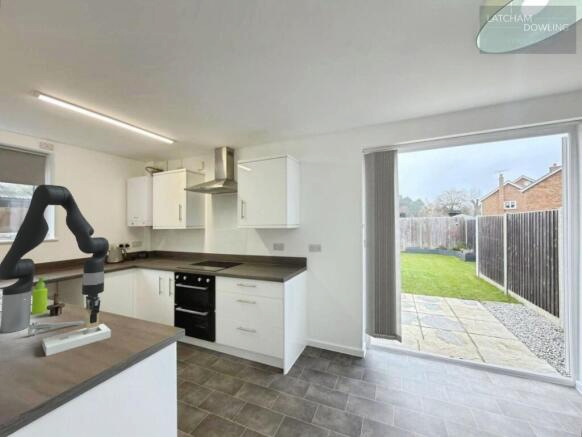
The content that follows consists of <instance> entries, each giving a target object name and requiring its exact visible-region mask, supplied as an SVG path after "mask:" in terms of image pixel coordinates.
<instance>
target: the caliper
mask: <svg viewBox="0 0 582 437" xmlns="http://www.w3.org/2000/svg"><path fill="white" fill-rule="evenodd" d="M80 324H81V325H85V320H80V321H69V322H58V323H57V322H56V323H55V322H54V323H52V322H47V323H46V322H45V323H44V322H43V323H38V321H36V322H34V321H33V322H32V323H31V324H30V326H29V327H28V328H27V337H29V338H30V337H31V334H32V332H33V330H34V333H33V337H36V336H37V335H38V333H39V331H40V330H44V331H46V330H48V331H49V330H50V329H51V328H58V327H59V328H60V327H69V326H80Z"/></svg>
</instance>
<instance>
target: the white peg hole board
mask: <svg viewBox="0 0 582 437" xmlns="http://www.w3.org/2000/svg"><path fill="white" fill-rule="evenodd" d="M111 337H112V329H110V328H109V327H108V326H107V325H105V323H99V326H98V327H94V328H90V329H87V328H86V327H84V328H81V329H76V330H72V331H68V332H64V333H59V334H56V335H53V336H48V337H44V338H42V344H41V346H42V349H43V352H44V354H45V356H46V357H48V356H50V355H51V356H52V355H54V354H57V353H62V352H65V351H69V350H72V349H76V348H78V347H81V346H85V345H89V344H92V343H96V342H100V341H103V340H106V339H109V338H111Z"/></svg>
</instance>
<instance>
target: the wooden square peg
mask: <svg viewBox="0 0 582 437" xmlns="http://www.w3.org/2000/svg"><path fill="white" fill-rule="evenodd" d="M94 311H96V309H94ZM84 313H85V314H84V315H85V318H84V322H85V323H84V328H87V329H90V328H94V327H98V326H99V324H100V312H99V313H97V322H96V323H90V310H89V309H88V308H86V307H85V312H84Z"/></svg>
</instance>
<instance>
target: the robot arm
mask: <svg viewBox="0 0 582 437" xmlns="http://www.w3.org/2000/svg"><path fill="white" fill-rule="evenodd" d="M48 206H61V207H62V208H63V209H64V210H65V213H66V216H65V224H66V226H67V228H68V230H69V231H70V232H71V234H72V235H73V236H74V237H75V241H76V243H77V246H78V249H79V250H80V251H81V252H82V253H84V254H88V255H90V254H92V255H91V257H89V258H87V259H86V260H84V262H83V274H82V278H81V279H82V280H81V281H82V284H81V294H82V295H84V296H85V309H86V308H88V309H89V310H90V323H96V322H97V313H99V314H100V308H101V303H102V302H101V299H100V296H99V294H102V293H103V292H104V291H105V272H104V271H105V261H106V259H107V255H108V252H109V248H110V243H109V240H108V239H107V238H105V237H101V236H99V237H98V236H97V237H92V236H94V233H95V229H94V228H93V226H92V225H91V224H90V223H89V221H88V220H86V218H85V216H84V215H83V213H82V212H81V210H80V208H79V206H78V204H77V202H76V200H75V199H74V196H73V195H72V193H71V191H70V190H69V189H68V187H65V186H64V185H63V186H62V185H54V184H39V185H38V186H36V187H35V190H34V191H33V193H32V196H31V200H30V203H29V206H28V209H27V211H26V214H25V216H24V219H23V220H22V222H21V225H20V226H19V228H18V231H17V232H16V235H15V237H14V240H13V242H12V244H11V246H10V248H9V250H8V251H7V253H6V254H5V256H4V257H3V259H2V260H1V261H0V279H1V280H3V281H4V280H5V281H8V280H9V281H10V280H17V281H16V282H14V283H12V284H10V285H8V286H5V287H4V288H3V289H2V295H1V314H0V333H3V334H6V333H14V332H18V331H21V330H25V329H29V326H30V325H31V313H32V291H33V289H32V287H33V285H34V277H35V269H36V265H35V261H34V260H33V259H32V258H23V257H24V256H25V255H26V254H28V253H29V252H31V251H33V250H34V249H35V248H37V247H39V246H40V245H41V244H42V243H43V242H44V240H45V239H46V236H48V232H49V229H50V228H49V225H48V222H47V220H46V218H45V212H46V209H47V208H48ZM94 309H96V311H94Z"/></svg>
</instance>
